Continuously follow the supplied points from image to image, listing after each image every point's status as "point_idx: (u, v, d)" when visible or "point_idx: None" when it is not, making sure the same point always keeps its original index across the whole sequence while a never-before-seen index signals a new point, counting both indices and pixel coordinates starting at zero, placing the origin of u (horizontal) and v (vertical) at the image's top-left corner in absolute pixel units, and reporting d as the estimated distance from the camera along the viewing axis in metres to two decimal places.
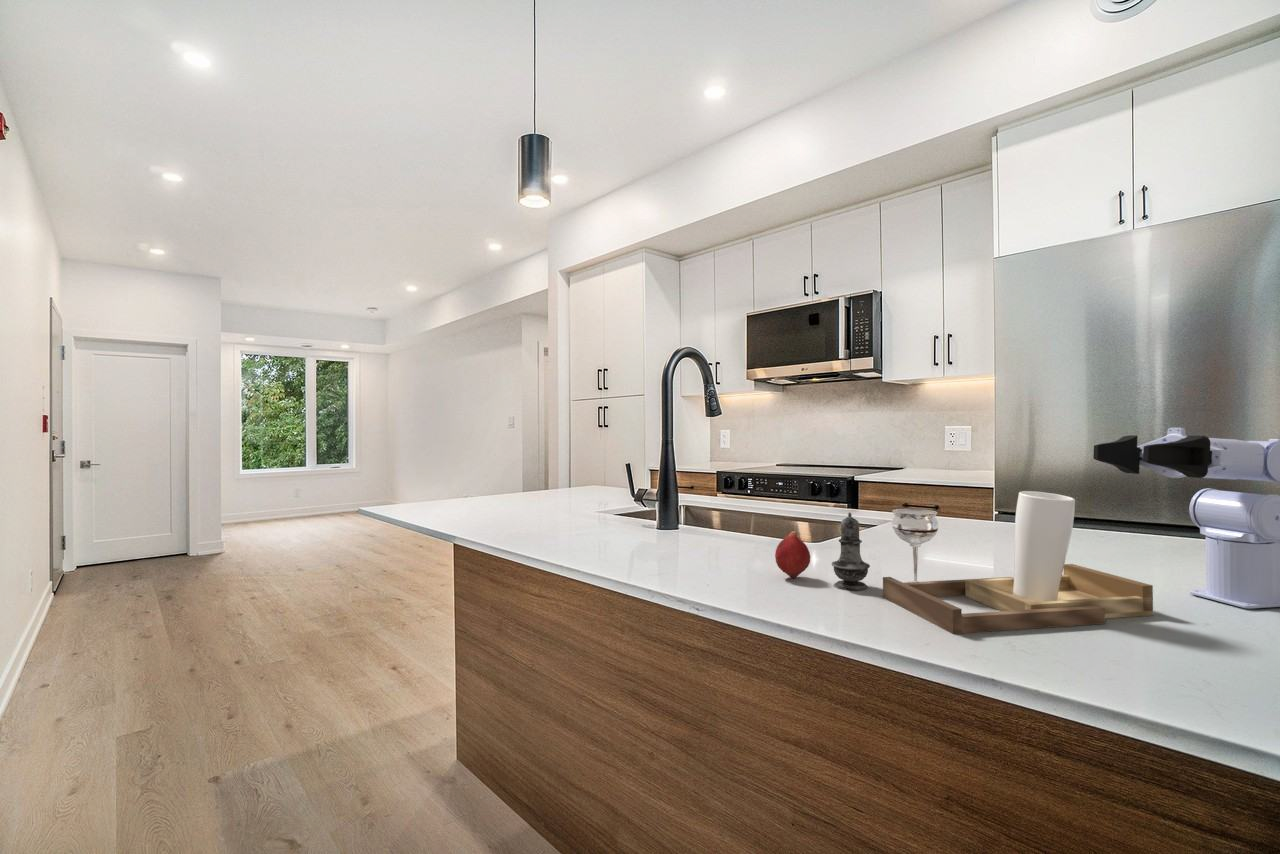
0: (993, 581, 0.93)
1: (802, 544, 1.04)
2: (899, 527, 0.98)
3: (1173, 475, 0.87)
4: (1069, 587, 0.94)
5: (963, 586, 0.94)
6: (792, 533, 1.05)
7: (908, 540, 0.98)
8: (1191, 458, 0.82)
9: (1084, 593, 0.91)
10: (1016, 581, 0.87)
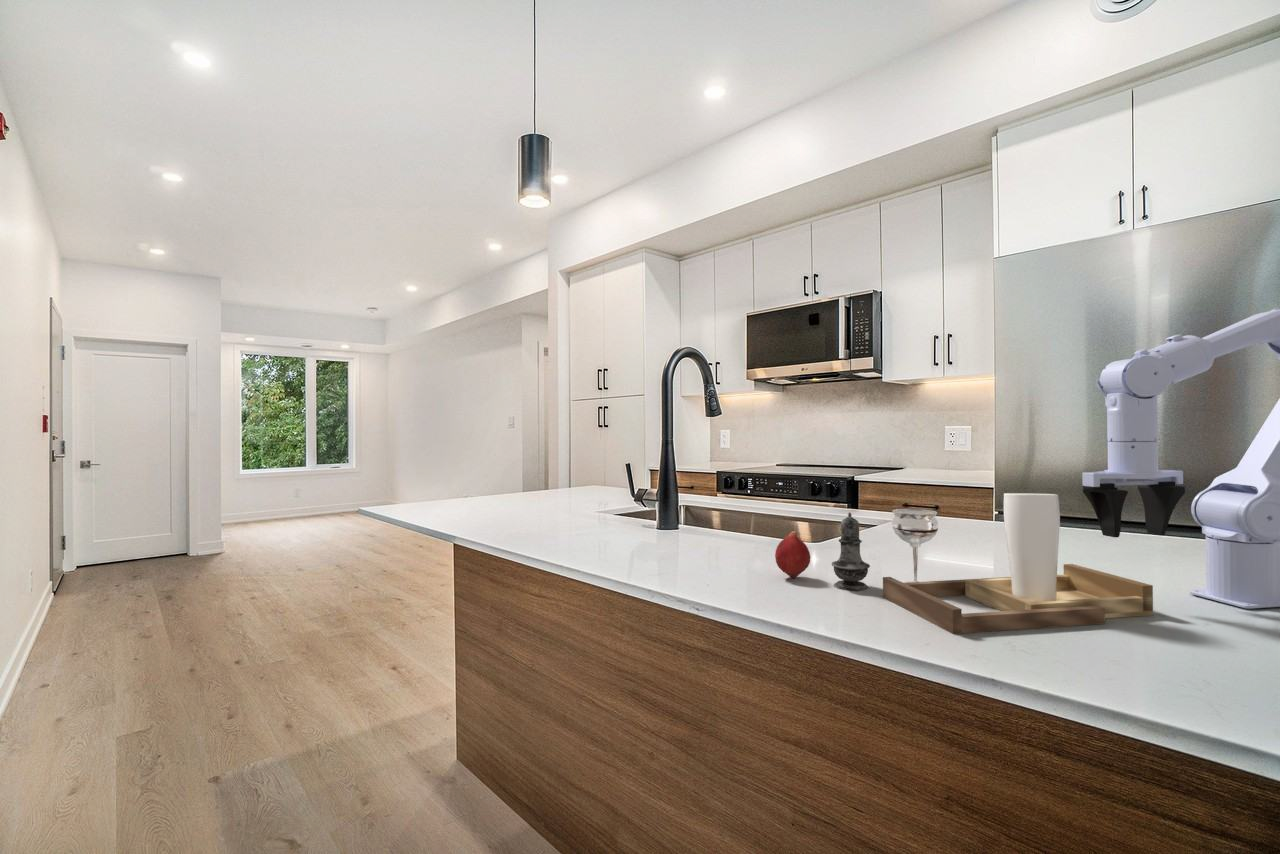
0: (993, 581, 0.93)
1: (802, 544, 1.04)
2: (899, 527, 0.98)
3: (1149, 478, 0.87)
4: (1069, 587, 0.94)
5: (963, 586, 0.94)
6: (792, 533, 1.05)
7: (908, 540, 0.98)
8: None
9: (1084, 593, 0.91)
10: (1013, 582, 0.88)
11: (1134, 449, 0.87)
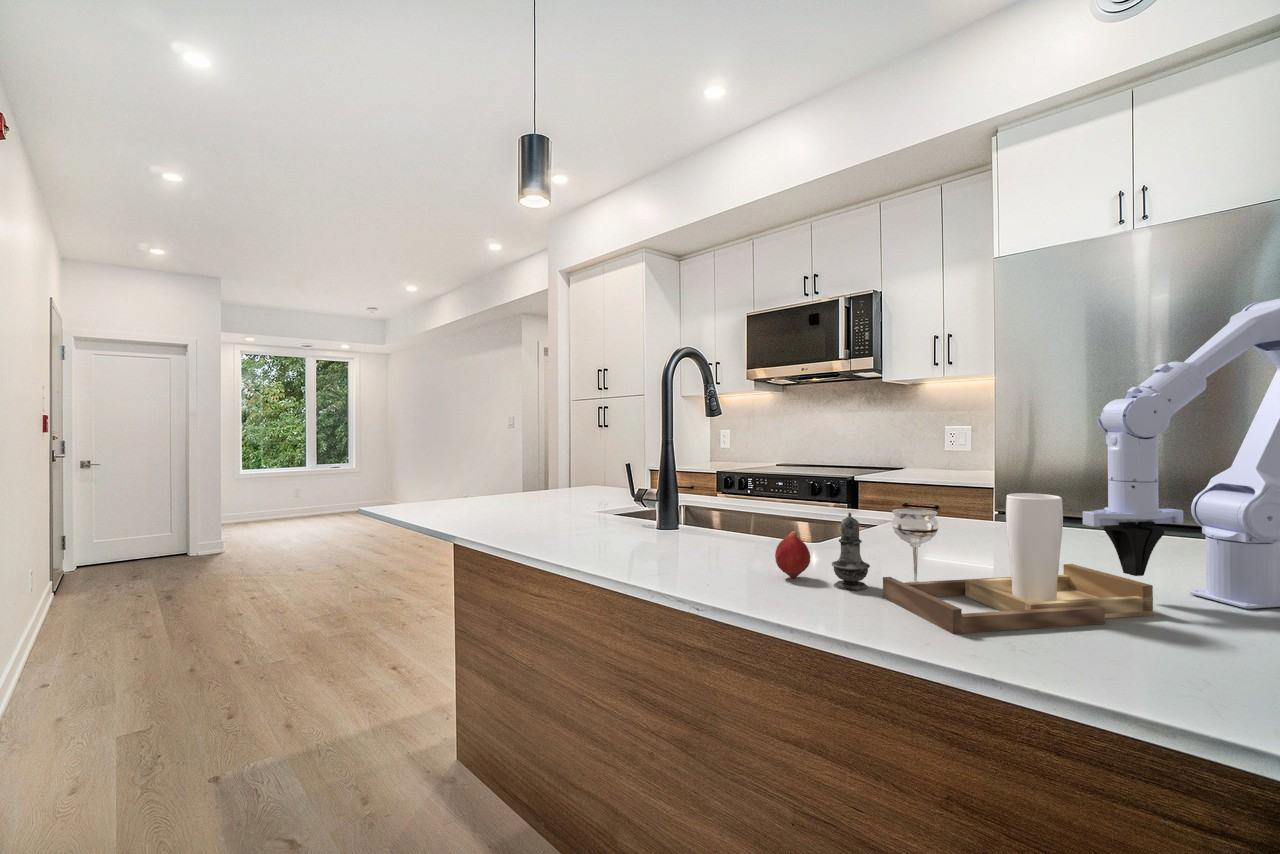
0: (993, 581, 0.93)
1: (802, 544, 1.04)
2: (899, 527, 0.98)
3: None
4: (1069, 587, 0.94)
5: (963, 586, 0.94)
6: (792, 533, 1.05)
7: (908, 540, 0.98)
8: None
9: (1084, 593, 0.91)
10: (1014, 584, 0.88)
11: (1134, 489, 0.87)
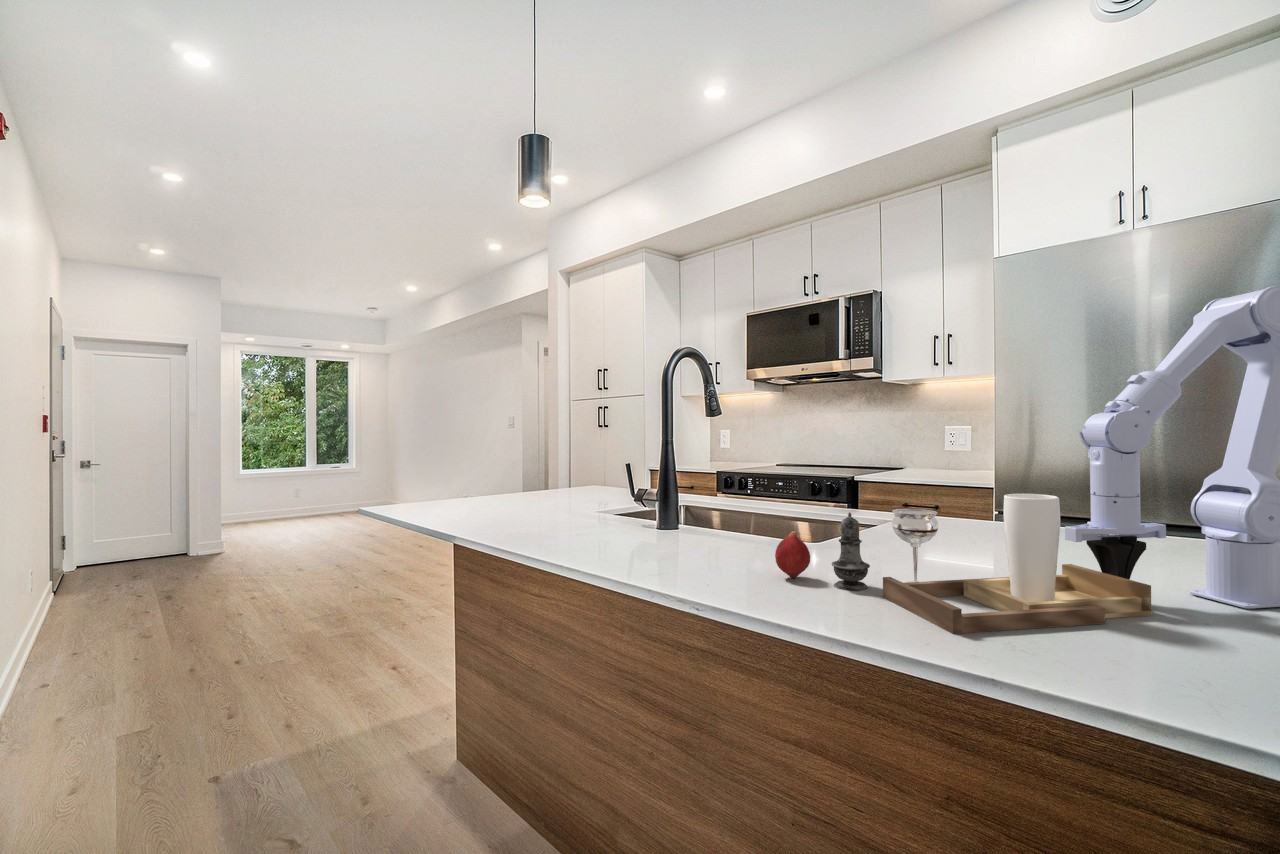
0: (991, 581, 0.92)
1: (802, 544, 1.04)
2: (899, 527, 0.98)
3: None
4: (1068, 587, 0.94)
5: (963, 586, 0.94)
6: (792, 533, 1.05)
7: (908, 540, 0.98)
8: None
9: (1082, 593, 0.91)
10: (1012, 584, 0.88)
11: (1116, 504, 0.87)
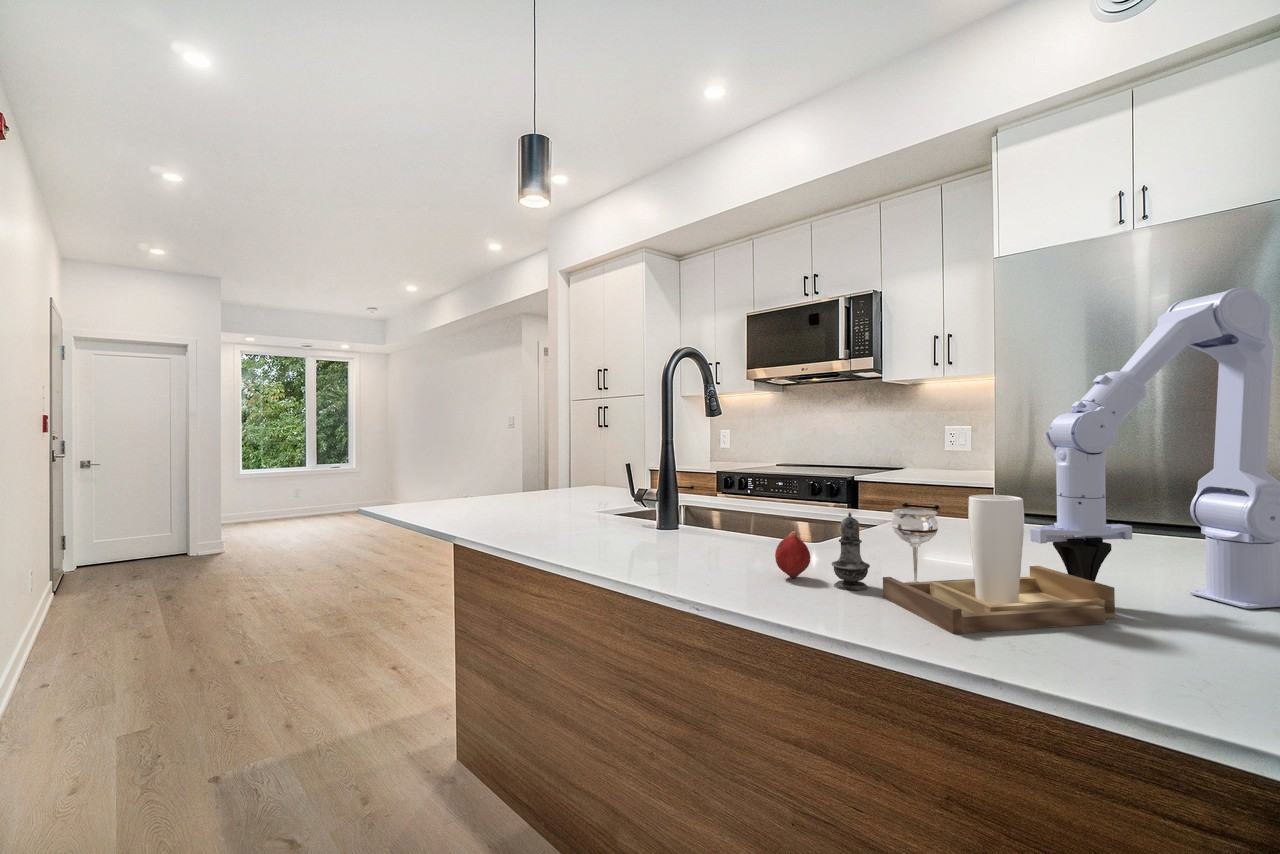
0: (958, 583, 0.92)
1: (802, 544, 1.04)
2: (899, 527, 0.98)
3: (1096, 535, 0.86)
4: (1035, 589, 0.93)
5: None
6: (792, 533, 1.05)
7: (908, 540, 0.98)
8: None
9: (1049, 595, 0.90)
10: (977, 586, 0.87)
11: (1081, 505, 0.86)
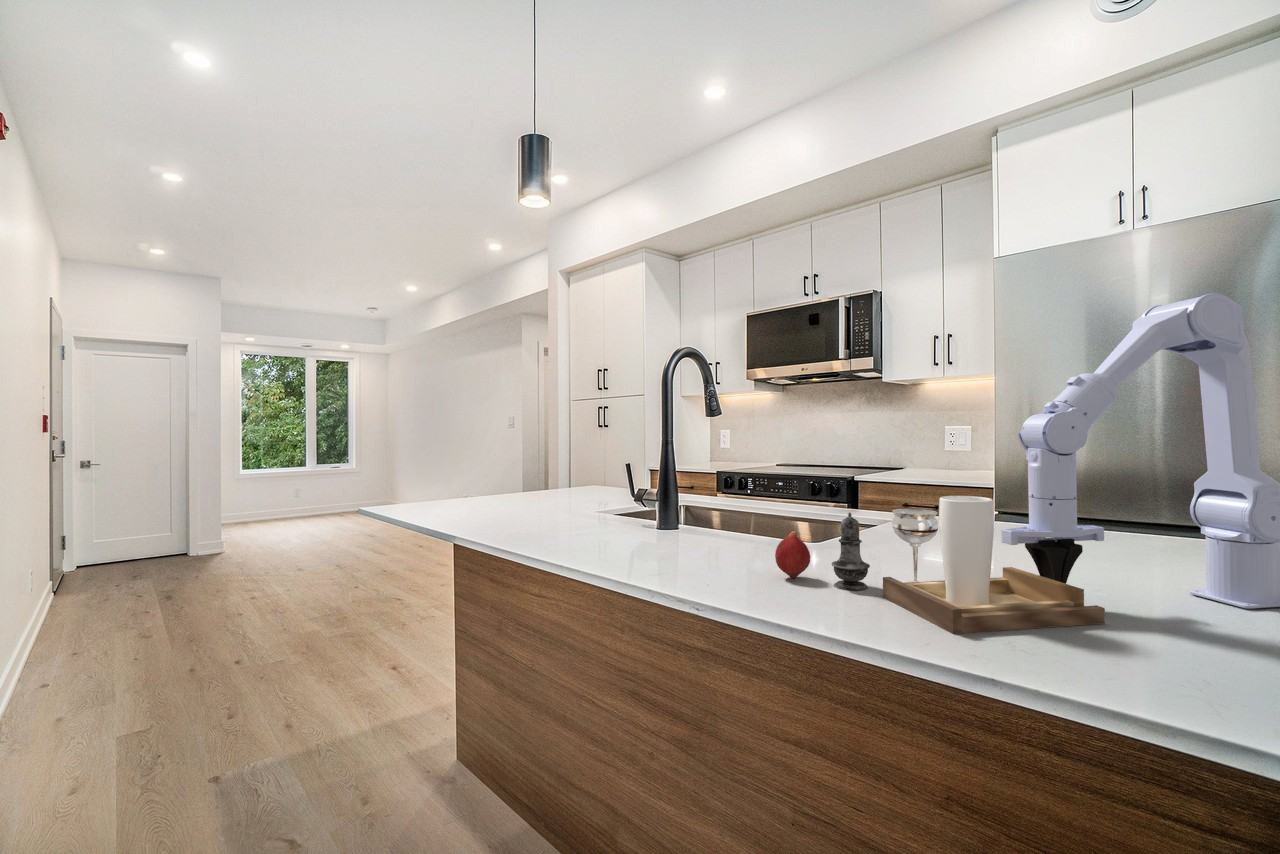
0: (929, 585, 0.91)
1: (802, 544, 1.04)
2: (899, 527, 0.98)
3: None
4: (1008, 591, 0.93)
5: None
6: (792, 533, 1.05)
7: (908, 540, 0.98)
8: None
9: (1021, 597, 0.90)
10: (947, 588, 0.86)
11: (1052, 507, 0.85)
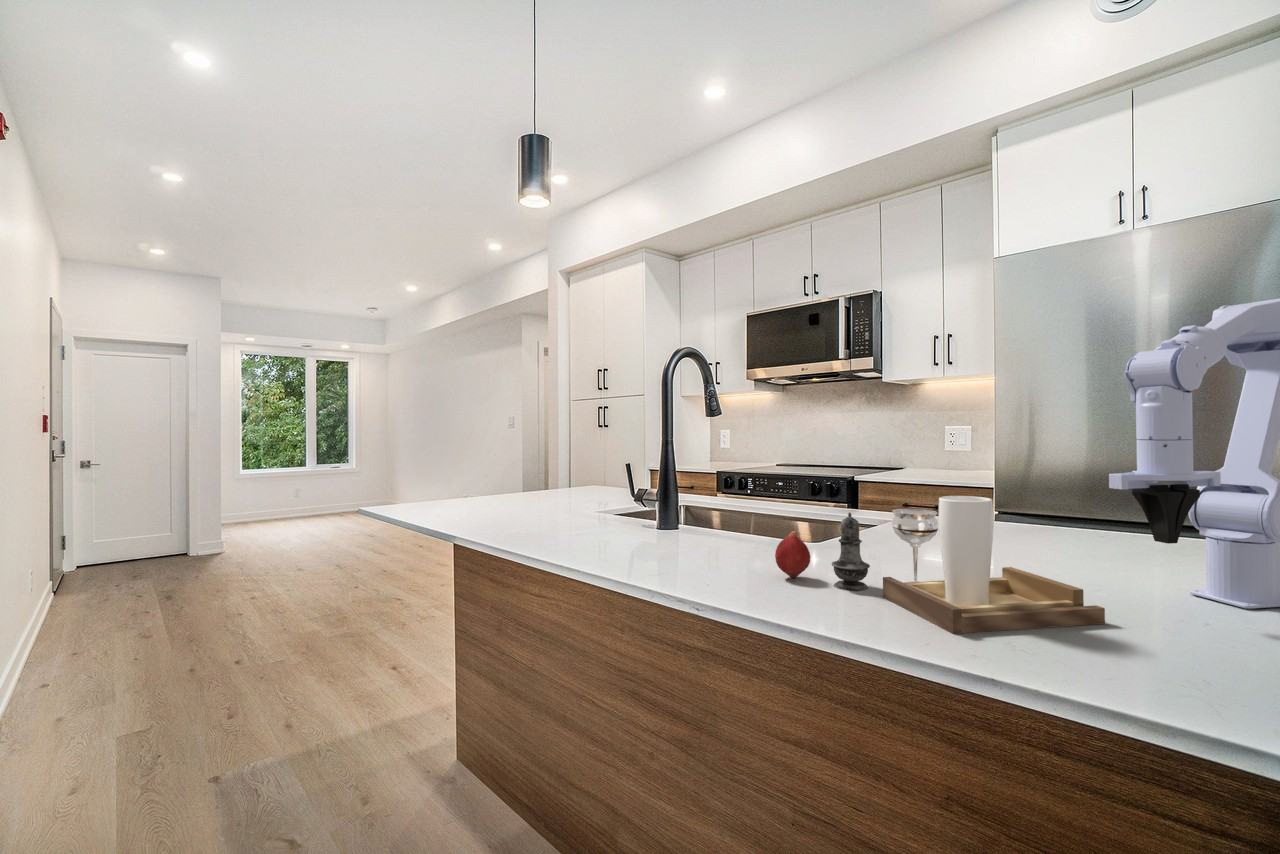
0: (929, 585, 0.91)
1: (802, 544, 1.04)
2: (899, 527, 0.98)
3: (1183, 480, 0.79)
4: (1007, 591, 0.93)
5: None
6: (792, 533, 1.05)
7: (908, 540, 0.98)
8: None
9: (1020, 597, 0.90)
10: (946, 588, 0.86)
11: (1166, 448, 0.80)
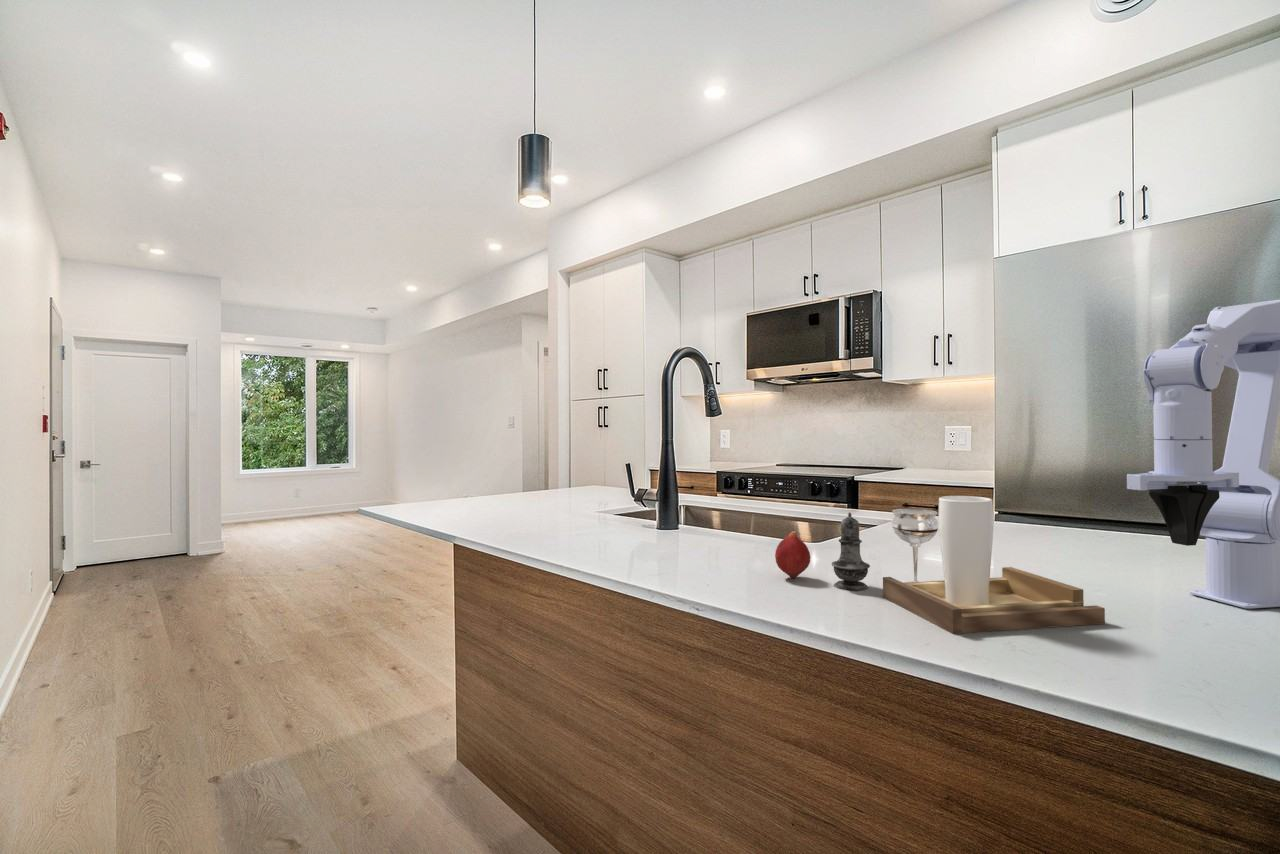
0: (929, 585, 0.91)
1: (802, 544, 1.04)
2: (899, 527, 0.98)
3: None
4: (1007, 591, 0.93)
5: None
6: (792, 533, 1.05)
7: (908, 540, 0.98)
8: None
9: (1020, 597, 0.90)
10: (946, 588, 0.86)
11: (1186, 448, 0.78)
